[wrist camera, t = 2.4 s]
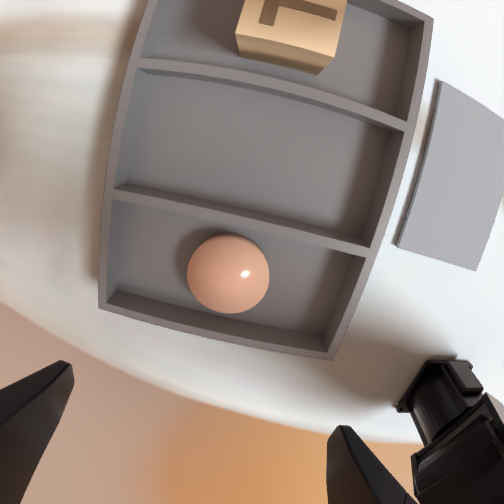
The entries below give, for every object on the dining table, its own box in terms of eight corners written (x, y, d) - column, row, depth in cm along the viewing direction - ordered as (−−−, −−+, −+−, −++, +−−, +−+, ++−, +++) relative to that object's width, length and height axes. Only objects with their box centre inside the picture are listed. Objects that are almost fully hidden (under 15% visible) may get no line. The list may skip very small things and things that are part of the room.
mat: (473, 269, 20) (475, 271, 20) (395, 245, 20) (397, 247, 19) (513, 128, 16) (516, 129, 16) (439, 81, 16) (442, 81, 15)
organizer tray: (326, 339, 22) (332, 360, 20) (112, 291, 21) (98, 308, 19) (416, 28, 14) (433, 18, 12) (177, -30, 13) (168, -47, 11)
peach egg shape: (257, 311, 21) (257, 321, 20) (185, 294, 21) (181, 302, 20) (277, 243, 19) (279, 249, 18) (198, 223, 19) (195, 229, 18)
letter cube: (316, 75, 16) (334, 56, 11) (240, 57, 15) (234, 32, 11) (331, 14, 14) (351, -17, 10) (258, -4, 14) (258, -40, 10)
